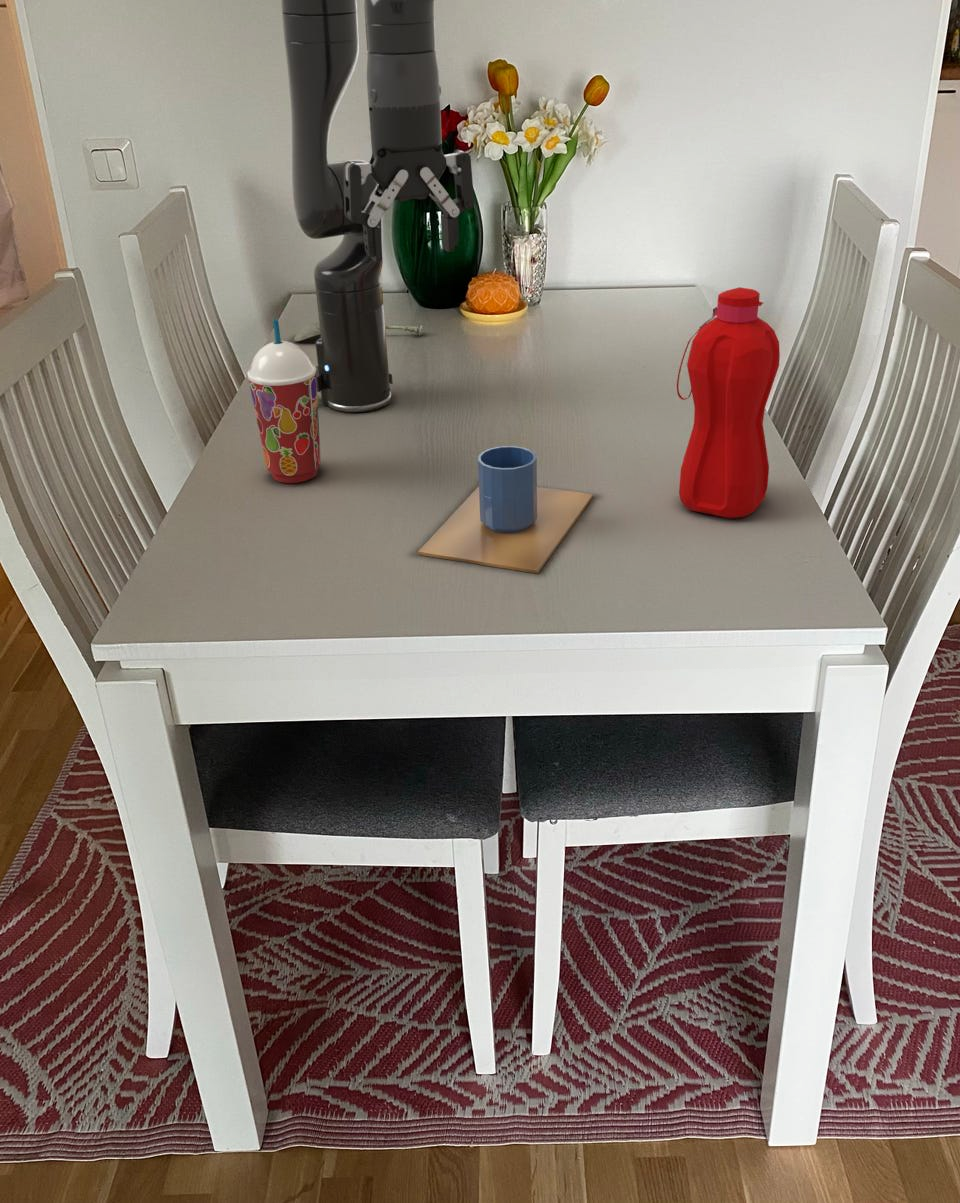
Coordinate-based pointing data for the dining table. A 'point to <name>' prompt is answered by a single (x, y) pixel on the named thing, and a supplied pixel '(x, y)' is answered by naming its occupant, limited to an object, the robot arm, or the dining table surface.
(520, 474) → the blue plastic tumbler
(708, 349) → the water bottle
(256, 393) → the smoothie
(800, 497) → the dining table surface
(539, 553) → the mat
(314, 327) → the soupspoon
